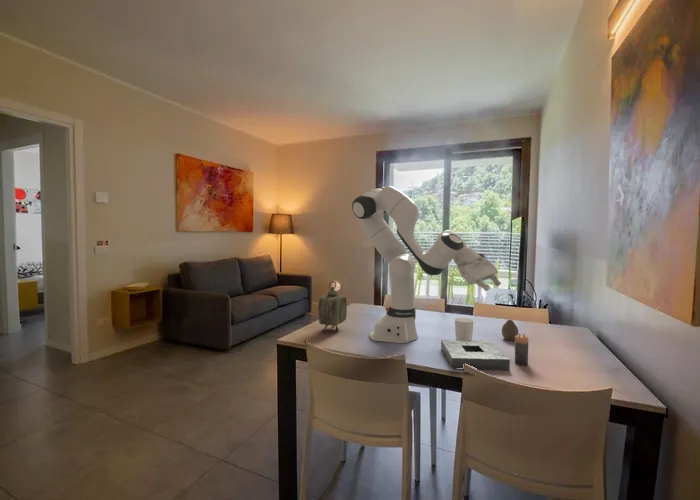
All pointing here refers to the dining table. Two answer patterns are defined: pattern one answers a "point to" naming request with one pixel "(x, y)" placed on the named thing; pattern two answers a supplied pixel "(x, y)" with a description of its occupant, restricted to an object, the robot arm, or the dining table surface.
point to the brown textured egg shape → (509, 330)
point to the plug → (521, 349)
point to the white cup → (463, 328)
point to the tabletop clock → (332, 308)
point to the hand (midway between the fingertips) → (494, 287)
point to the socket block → (474, 354)
